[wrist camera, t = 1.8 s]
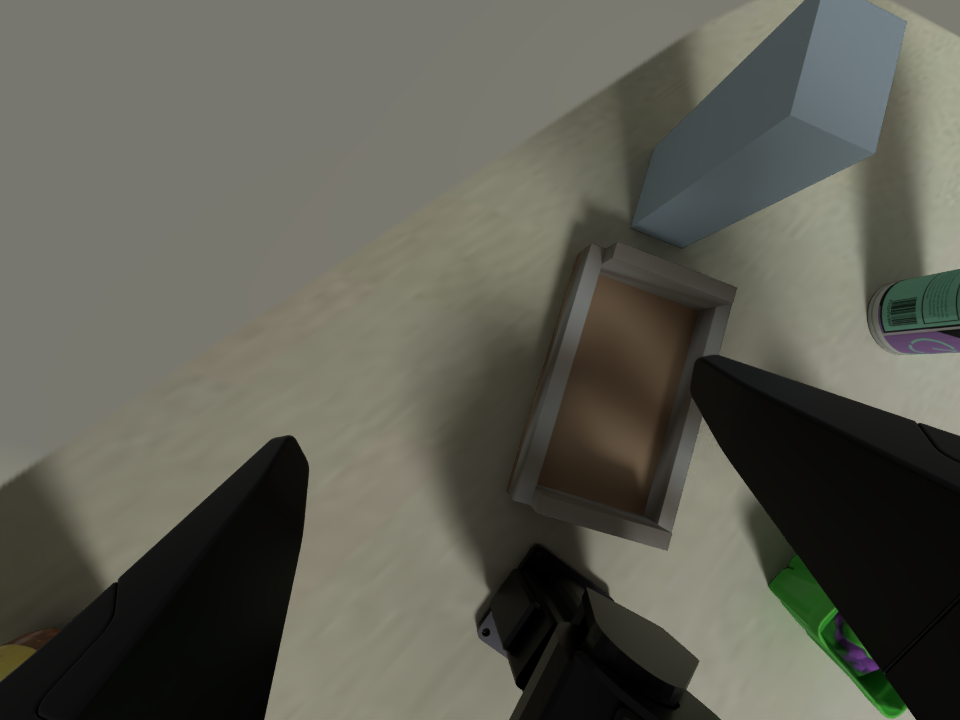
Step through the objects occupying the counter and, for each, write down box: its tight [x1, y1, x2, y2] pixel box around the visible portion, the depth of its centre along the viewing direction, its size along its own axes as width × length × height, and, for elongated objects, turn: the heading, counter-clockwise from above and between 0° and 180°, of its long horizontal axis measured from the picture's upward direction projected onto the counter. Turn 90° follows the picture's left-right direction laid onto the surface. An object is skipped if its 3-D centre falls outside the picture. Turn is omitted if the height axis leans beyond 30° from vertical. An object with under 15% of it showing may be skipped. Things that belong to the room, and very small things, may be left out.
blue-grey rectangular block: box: [631, 0, 907, 248], centre depth 22 cm, size 6×4×12 cm, turn 162°
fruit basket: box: [769, 554, 907, 718], centre depth 23 cm, size 11×9×11 cm
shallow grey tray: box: [506, 242, 737, 551], centre depth 25 cm, size 16×10×4 cm, turn 162°
